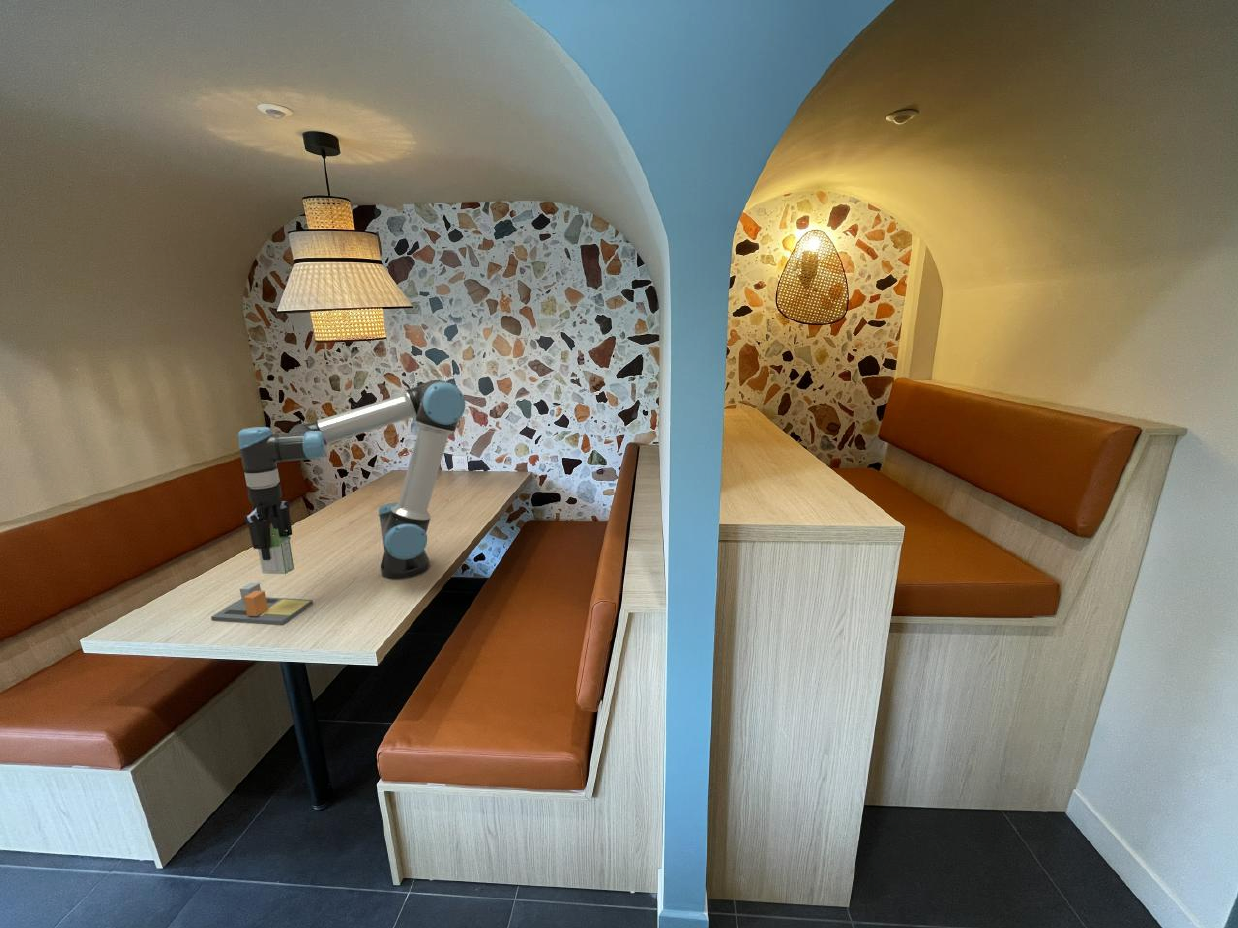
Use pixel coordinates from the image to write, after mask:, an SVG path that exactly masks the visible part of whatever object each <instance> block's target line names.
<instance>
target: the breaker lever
mask: <svg viewBox="0 0 1238 928" xmlns="http://www.w3.org/2000/svg"><path fill="white" fill-rule="evenodd" d="M266 597H267V596H266V591H265V590H261V591H254V592H252V593H250V594H249V595H247V596H245V597H244V602H245V607H246V612H247V616H258V615H260V614H261V613H263V612H264V611H266V610H267V609H268V606H267V601H266Z"/></svg>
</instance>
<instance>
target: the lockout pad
mask: <svg viewBox="0 0 1238 928" xmlns="http://www.w3.org/2000/svg"><path fill="white" fill-rule="evenodd" d="M309 602H310V601H302V600H285V599H282V600H281V601H279V602H278V603H276V604H274V605H273V606H271V607H270V608H268V609H267V610H266V611H264V612H263V613H261V614H272V615H288V616H290V615H292V614H293V613H295V612H296V611H298V610H299V609H300V608H302V607H303V606H305V605H306V604H308V603H309Z"/></svg>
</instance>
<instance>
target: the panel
mask: <svg viewBox="0 0 1238 928" xmlns="http://www.w3.org/2000/svg"><path fill="white" fill-rule="evenodd" d="M254 591H262V588H261V583H260V582H249V583H247V584H246V585H244V586H242V587H240V588H239V593H240V597H241V598H240V599H238V600H237V601H235V602H233V603H231V604H230V605H228V606H227V607H225V608H223V609H221V610H220V611H218V612H215V614H213V615H211V616H210V619H211V621H213V622H216V621H217V622H227V623H242V624H244V623H245V624H259V625H260V624H261V625H273V626H274V625H275V626H276V625H277V626H284V625H285V624H287V623H289V621H291V620H293V619H294V618H295V617H297V616H298V615H299V614H301V613H302V612H304V611H306V610H307V609H308V608H310V607H311V606H312V605H314V600H313V599H302V598H300V599H299V598H287V597H286V598H282V597H270V596H269V597H268V596H266V601H267V606H268V608H270V607H271V606H273V605H274V604H276V603H278V602H279V601H281V600H282V599H285V600H302V601H310V602H309V603H308V604H306V605H305V606H303V607H302V608H300V609H299V610H298V611H296V612H295V613H293V614H292V615H290V616H288V615H272V614H260V615H258V616H247V612H246V607H245V602H244V597H245V596H247V595H249V594H250V593H252V592H254Z"/></svg>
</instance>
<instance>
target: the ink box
mask: <svg viewBox="0 0 1238 928" xmlns="http://www.w3.org/2000/svg"><path fill="white" fill-rule="evenodd" d="M270 534H273V535H270V547H273V549H274V555H275V560H276V566H277V570H275V571H272V570H266V566H265V561H264V560H263V558H262V552H261V549H257V550H258V551H257V552H258V555H259V560H260V561H259V562H260V566H261V572H262V573H261V574H263V575H265V574H267V575H268V574H269V575H270V574H271V575H272V574H273V575H286V574H288V573H290V572H292V571H293V570H295V565H294V558H293V553H292V545H291V538H289V537H290V536H289V537H282V536H279V533H278V529H274V528H270Z"/></svg>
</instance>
